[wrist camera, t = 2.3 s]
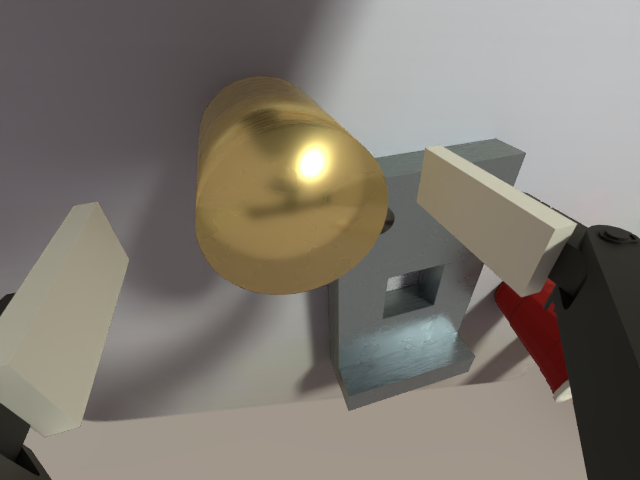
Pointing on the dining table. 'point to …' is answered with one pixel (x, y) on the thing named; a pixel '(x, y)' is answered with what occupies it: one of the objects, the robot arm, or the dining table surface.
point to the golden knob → (283, 190)
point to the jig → (409, 289)
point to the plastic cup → (538, 333)
